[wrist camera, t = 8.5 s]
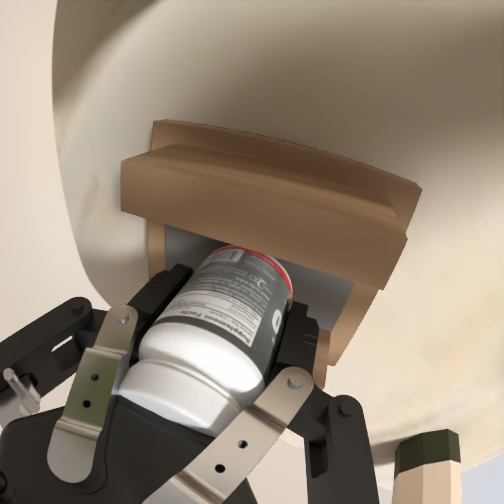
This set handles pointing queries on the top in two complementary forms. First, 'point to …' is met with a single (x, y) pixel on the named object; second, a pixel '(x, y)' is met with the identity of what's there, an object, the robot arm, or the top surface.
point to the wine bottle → (428, 469)
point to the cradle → (274, 217)
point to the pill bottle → (213, 342)
